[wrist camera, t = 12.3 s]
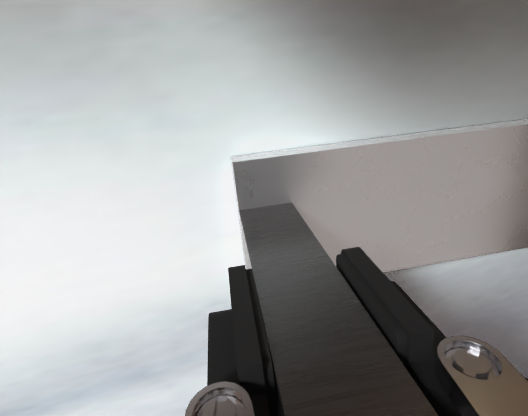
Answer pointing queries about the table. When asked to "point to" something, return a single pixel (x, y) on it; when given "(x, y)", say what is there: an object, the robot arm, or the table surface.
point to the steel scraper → (368, 248)
